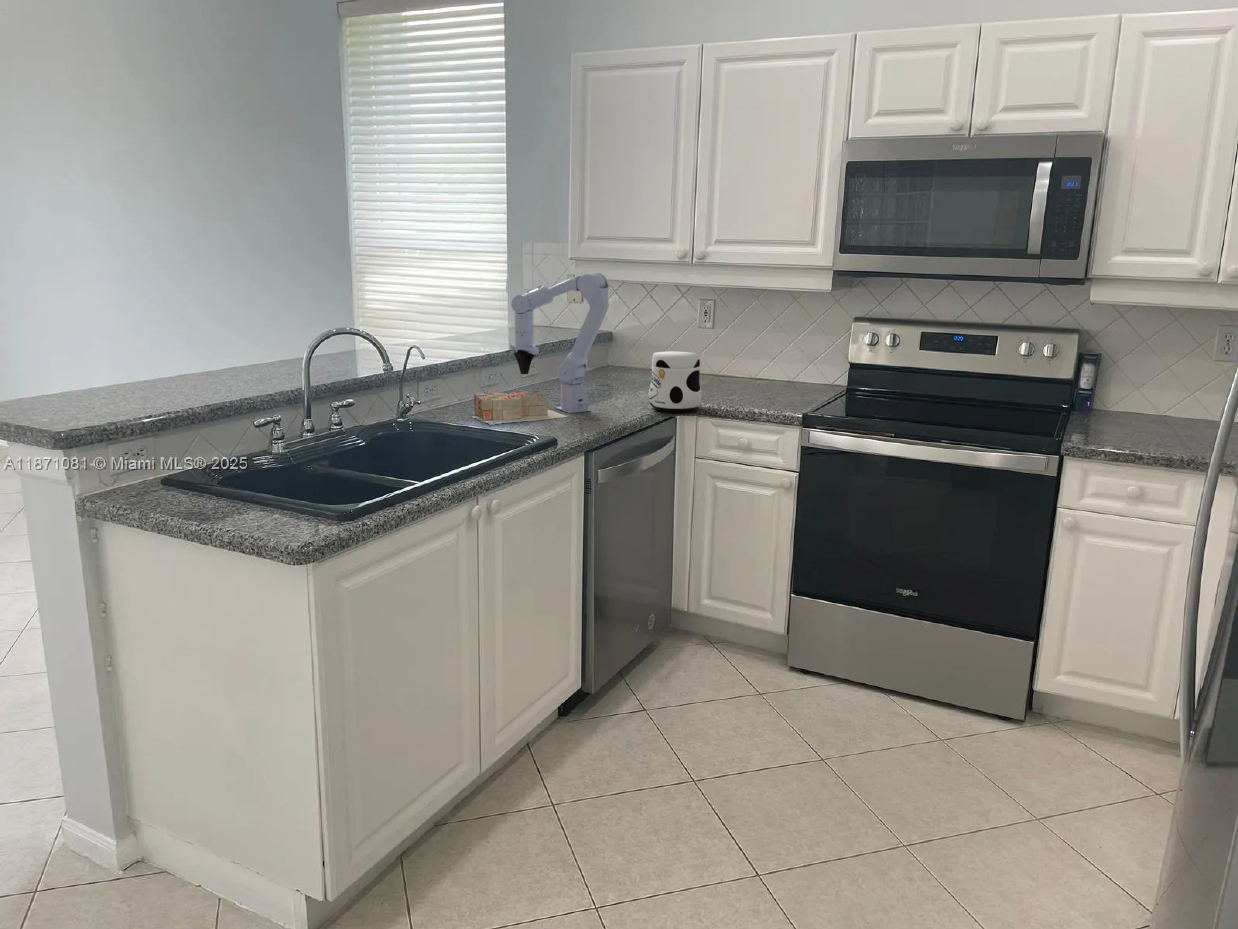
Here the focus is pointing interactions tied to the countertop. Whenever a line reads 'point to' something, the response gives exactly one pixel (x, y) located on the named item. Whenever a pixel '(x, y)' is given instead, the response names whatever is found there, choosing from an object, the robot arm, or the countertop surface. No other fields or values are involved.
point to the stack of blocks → (510, 405)
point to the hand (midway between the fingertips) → (524, 373)
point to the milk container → (675, 381)
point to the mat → (532, 417)
